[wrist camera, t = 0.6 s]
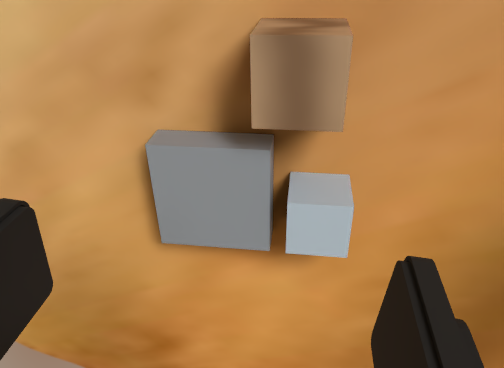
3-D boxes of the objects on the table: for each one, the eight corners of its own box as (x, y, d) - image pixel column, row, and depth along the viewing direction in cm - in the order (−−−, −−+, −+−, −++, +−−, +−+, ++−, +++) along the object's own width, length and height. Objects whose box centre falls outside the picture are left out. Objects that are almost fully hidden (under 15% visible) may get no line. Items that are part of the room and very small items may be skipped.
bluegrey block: (349, 174, 35) (354, 207, 30) (343, 221, 37) (347, 257, 33) (290, 171, 35) (287, 203, 31) (288, 217, 38) (285, 253, 34)
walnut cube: (346, 18, 28) (353, 35, 23) (338, 100, 31) (342, 132, 26) (261, 17, 29) (249, 34, 24) (261, 98, 32) (251, 128, 27)
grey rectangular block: (273, 134, 33) (270, 150, 31) (272, 230, 39) (269, 251, 36) (157, 129, 35) (145, 144, 32) (171, 223, 40) (161, 242, 37)
